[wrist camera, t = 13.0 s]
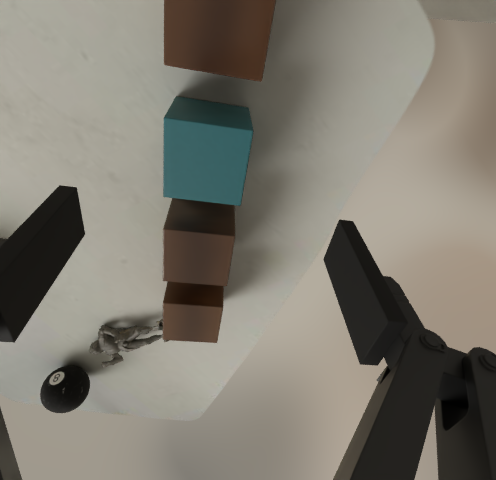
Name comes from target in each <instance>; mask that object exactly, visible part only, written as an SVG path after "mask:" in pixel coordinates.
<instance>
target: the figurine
mask: <svg viewBox="0 0 496 480" xmlns="http://www.w3.org/2000/svg"><path fill="white" fill-rule="evenodd" d="M157 322H158V324H157V326H155V327H139V328H137V326H134V327H130V328H127V329H117V330H116V329H112V328H110V327H107V326H105V325H102V326H101V328H100V329H99V332H98V335H99V339H98V340H97V341H95V342H94V343H92V344H91V346H90V353H93V354H98V353H101V352H103V351H105V353H106V354H108V355H110V356H112V358H113V357H114V358H113V360H111V361H109V362H102V367H107V366H109V365H114V364H115V363H119V362H121V361H123V358H122V356H121V355H119V354H118V353H117V352H119V351H121V350H122V351H126V352H129V351H132V350H135V349H137V348H140V347H142V346H144V345H147V344H151V343H152V342H154V341H156V340H159V339H160V338H163V334H162V335H153V336H151V337H150V338H145V339H136V337H138V336H139V335H140V334H142V333H143V334H147V333H149V331H150V330H152V329H154V330H163V323H162V322H163V319H162V320H160V321H157ZM120 330H121V332H120V333H119V331H120ZM167 341H169V340H166V341H165V340H164V342H167Z"/></svg>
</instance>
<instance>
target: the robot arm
mask: <svg viewBox="0 0 496 480" xmlns="http://www.w3.org/2000/svg"><path fill="white" fill-rule="evenodd" d="M84 235H85V231H84V225H83V220H82V214H81V209H80V203H79V197H78V192H77V187H69V186H59V187H58V188H57V189H56V190H55V191H54V192H53V193H52V194H51V195H50V196H49V197H48V198H47V199H46V200H45V201H44V202H43V203H42V204H41V205H40V206H39V207H38V208H37V209H36V210H35V211H34V212H33V213H32V214H31V216H30V217H29V218H28V219H27V220H26V221H25V222H24V223H23V224H22V225H21V226H20V227H19V228H18V229H17V230H16V231H15V232H14V233H13V234H12V235H11V236H10V237H9V238H8V239H3V238H0V341H1V342H15V341H16V339H17V338H18V336H19V335H20V333H21V332H22V330H23V329H24V327H25V326H26V324H27V322H28V321H29V319H30V318H31V316H32V315H33V313H34V312H35V310H36V309H37V307H38V306H39V304H40V303H41V301H42V299H43V298H44V296H45V295H46V293H47V292H48V290H49V289H50V287H51V286H52V284H53V283H54V281H55V279H56V278H57V276H58V275H59V273H60V272H61V270H62V269H63V267H64V266H65V264H66V263H67V261H68V260H69V258H70V256H71V255H72V253H73V252H74V250H75V249H76V247H77V246H78V244H79V243H80V241H81V240H82V238H83V237H84ZM324 262H325V265H326V268H327V271H328V274H329V277H330V279H331V282H332V285H333V288H334V291H335V294H336V297H337V300H338V302H339V305H340V308H341V311H342V314H343V317H344V319H345V323H346V325H347V328H348V331H349V334H350V337H351V340H352V343H353V346H354V348H355V351H356V354H357V357H358V360H359V362H360V364H363V365H364V364H365V365H378V364H379V363H380V361H381V360H382V359H383V357H384V358H385V360H386V363H387V365H388V366H387V367H386V368H385V370H384V371H383V372H382V374H381V375H380V376H379V378H378V379H377V381H378V384H377V386H376V389H375V391H374V393H373V395H372V397H371V399H370V401H369V404H368V406H367V408H366V410H365V413H364V414H363V417H362V419H361V421H360V423H359V425H358V427H357V429H356V431H355V434H354V436H353V438H352V440H351V442H350V444H349V446H348V449H347V451H346V453H345V455H344V457H343V459H342V461H341V464H340V466H339V468H338V470H337V472H336V474H335V476H334V479H333V480H414V478H415V475H416V471H417V468H418V464H419V460H420V457H421V453H422V449H423V446H424V442H425V438H426V434H427V430H428V427H429V424H430V420H431V416H432V412H433V409H434V405H435V421H436V439H437V457H438V458H437V459H438V478H439V480H496V355H495V354H494V353H492V352H491V351H489V350H487V349H483V348H480V347H477V348H473V349H472V350H470V351H469V352H468V354H466V353H463V352H461V351H458V350H455V349H452V348H449V347H447V345H446V343H445V342H444V341H443V340H442V339H441V338H440V336H438V335H437V334H435V333H434V332H432V331H430V330H427V329H425V328H424V326H423V324H422V323H421V321H420V319H419V317H418V316H417V314H416V312H415V311H414V309H413V307H412V306H411V304H410V303H409V300H408V299H407V297H406V296H405V294H404V292H403V290H402V289H401V287H400V285H399V284H398V283H397V282H395V280H394V279H392V278H391V277H386V276H383V275H382V274H381V272H380V270H379V268H378V266H377V265H376V263H375V261H374V259H373V258H372V255H371V253H370V252H369V250H368V248H367V246H366V244H365V242H364V241H363V239H362V237H361V235H360V233H359V232H358V230H357V228H356V226H355V224H354V222H353V221H346V220H339V222H338V224H337V227H336V229H335V232H334V234H333V237H332V239H331V242H330V244H329V247H328V249H327V252H326V254H325V257H324ZM0 480H22V478H21V474H20V471H19V468H18V464H17V461H16V458H15V454H14V451H13V448H12V445H11V441H10V438H9V435H8V432H7V428H6V425H5V421H4V418H3V415H2V412H1V409H0Z"/></svg>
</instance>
